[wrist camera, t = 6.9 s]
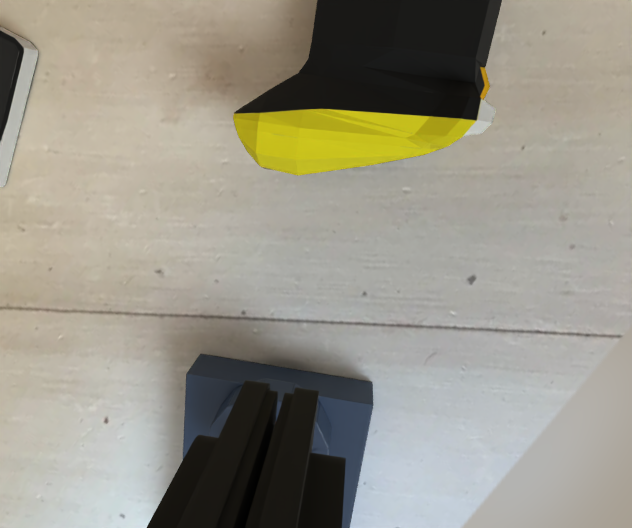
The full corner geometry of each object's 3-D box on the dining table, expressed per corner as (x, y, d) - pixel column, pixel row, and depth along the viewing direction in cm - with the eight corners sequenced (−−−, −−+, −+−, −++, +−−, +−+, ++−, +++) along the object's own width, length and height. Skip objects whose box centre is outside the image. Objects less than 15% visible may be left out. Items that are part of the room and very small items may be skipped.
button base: (200, 345, 26) (172, 383, 22) (374, 373, 25) (376, 417, 22) (190, 537, 30) (165, 596, 27) (337, 565, 30) (334, 629, 26)
